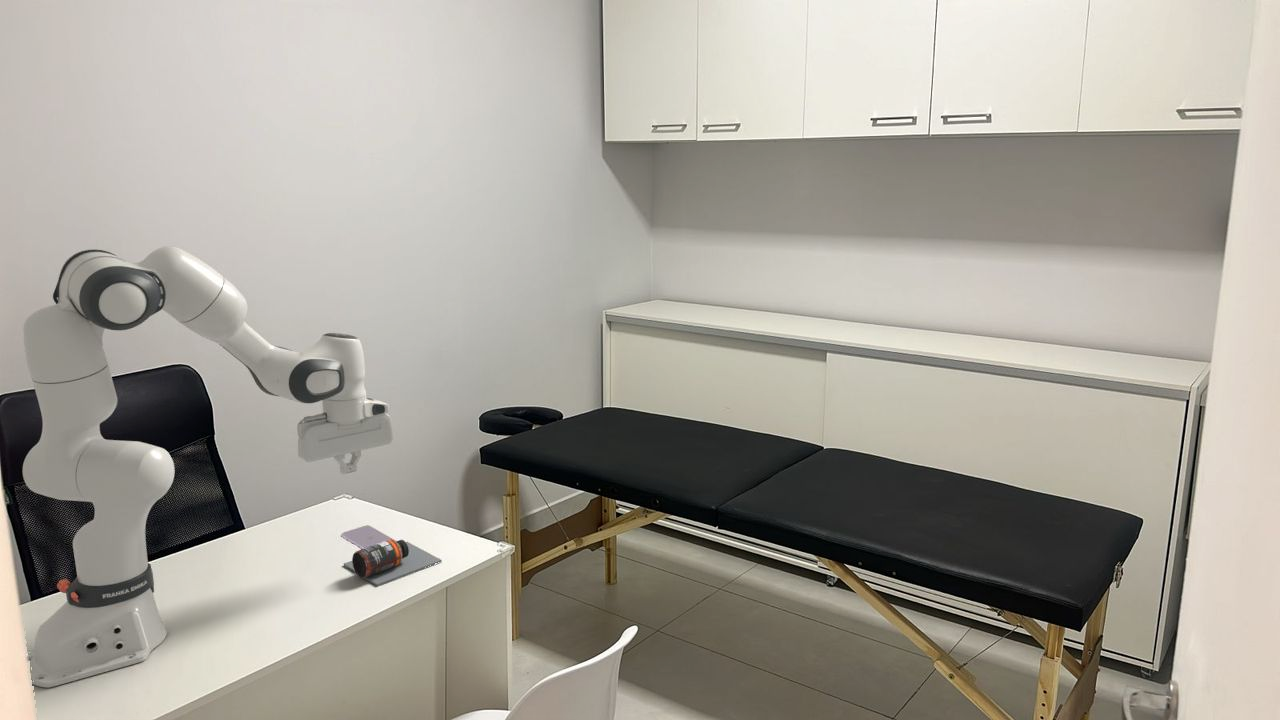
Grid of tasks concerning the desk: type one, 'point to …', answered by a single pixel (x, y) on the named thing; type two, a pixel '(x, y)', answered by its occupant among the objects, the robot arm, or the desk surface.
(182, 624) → the desk surface
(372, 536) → the mobile phone
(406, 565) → the mat
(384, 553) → the supplement bottle
